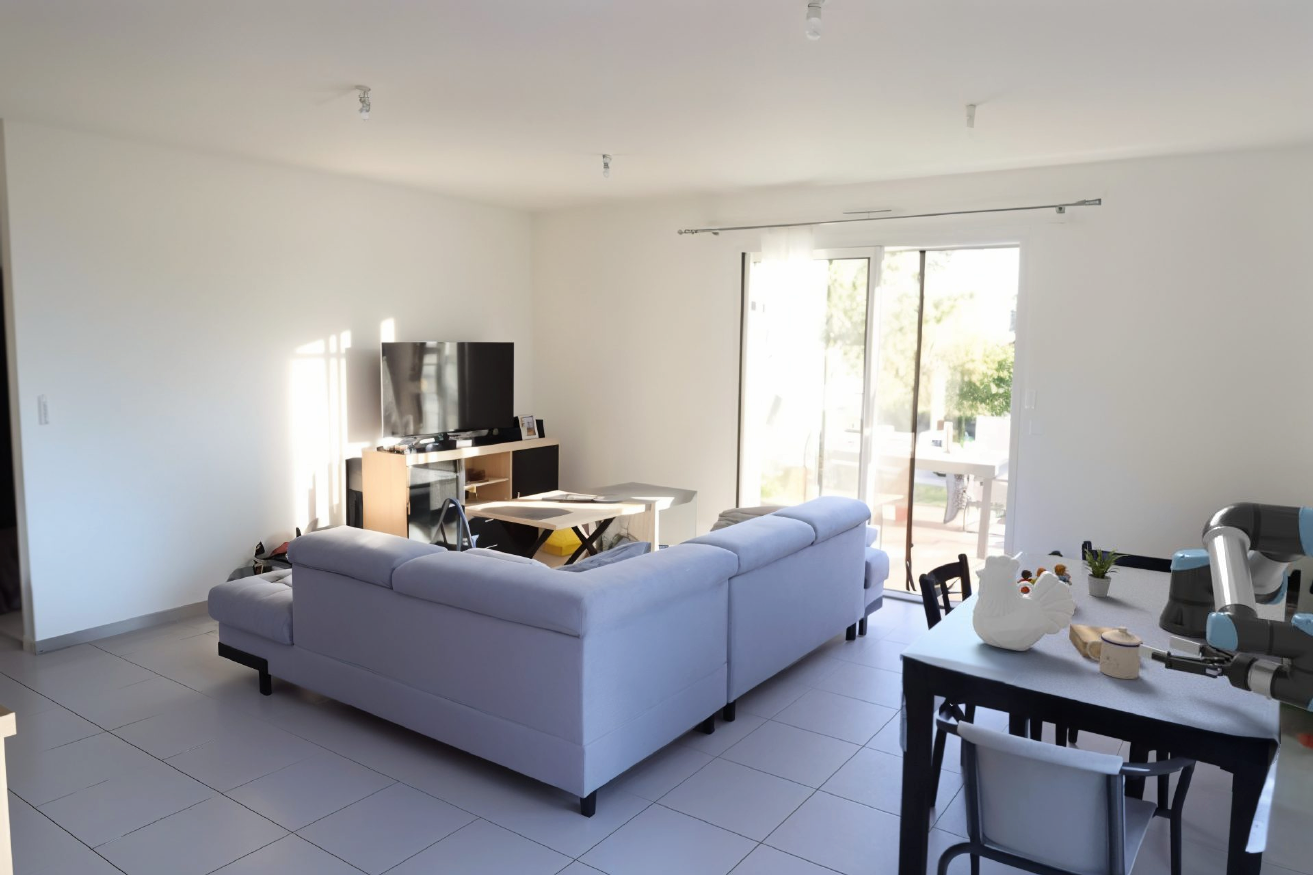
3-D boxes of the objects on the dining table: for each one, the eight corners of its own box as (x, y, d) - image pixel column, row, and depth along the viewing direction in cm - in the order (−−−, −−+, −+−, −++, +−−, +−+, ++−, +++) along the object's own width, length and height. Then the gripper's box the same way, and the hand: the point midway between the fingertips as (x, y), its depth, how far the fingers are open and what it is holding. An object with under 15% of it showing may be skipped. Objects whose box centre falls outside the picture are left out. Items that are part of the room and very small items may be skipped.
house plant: (1128, 594, 284) (1132, 545, 283) (1125, 603, 273) (1129, 553, 271) (1080, 586, 292) (1084, 539, 290) (1075, 595, 280) (1079, 547, 279)
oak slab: (1120, 643, 234) (1121, 628, 234) (1137, 662, 220) (1138, 647, 219) (1069, 638, 237) (1070, 624, 237) (1082, 656, 223) (1084, 641, 222)
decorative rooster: (968, 650, 225) (974, 557, 223) (972, 632, 240) (978, 545, 237) (1073, 666, 215) (1081, 570, 213) (1071, 647, 230) (1078, 557, 227)
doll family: (1064, 599, 276) (1068, 559, 275) (1088, 607, 267) (1091, 566, 266) (1011, 603, 270) (1014, 562, 268) (1033, 612, 261) (1036, 570, 259)
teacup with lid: (1139, 670, 214) (1143, 625, 213) (1140, 682, 206) (1144, 635, 205) (1085, 661, 219) (1089, 617, 218) (1084, 672, 211) (1088, 626, 210)
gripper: (1225, 702, 179) (1124, 669, 197) (1280, 682, 192) (1181, 653, 210) (1228, 667, 178) (1127, 637, 196) (1284, 649, 191) (1184, 623, 209)
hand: (1155, 645), depth 203 cm, fingers open, 13 cm apart
